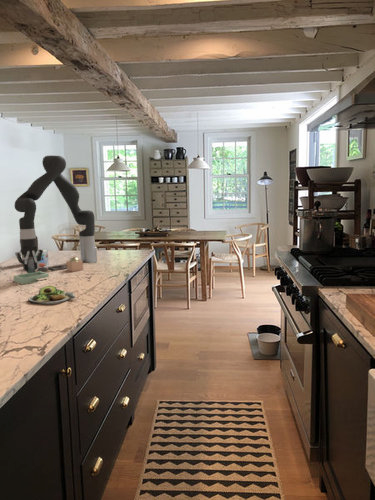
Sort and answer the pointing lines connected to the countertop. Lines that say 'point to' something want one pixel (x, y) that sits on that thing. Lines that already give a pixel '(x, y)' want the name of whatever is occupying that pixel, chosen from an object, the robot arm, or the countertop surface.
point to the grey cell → (30, 265)
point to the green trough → (26, 279)
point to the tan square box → (74, 265)
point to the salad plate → (51, 296)
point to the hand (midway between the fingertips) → (30, 270)
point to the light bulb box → (43, 258)
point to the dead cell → (74, 259)
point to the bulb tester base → (51, 268)
